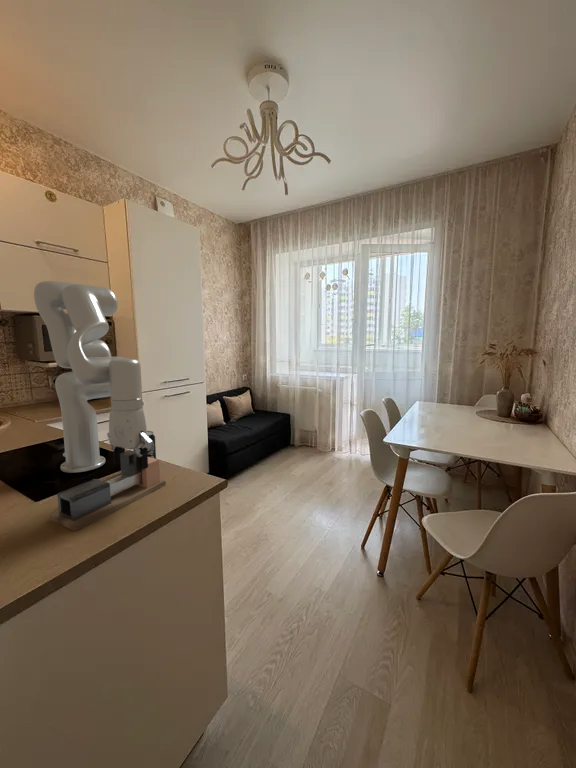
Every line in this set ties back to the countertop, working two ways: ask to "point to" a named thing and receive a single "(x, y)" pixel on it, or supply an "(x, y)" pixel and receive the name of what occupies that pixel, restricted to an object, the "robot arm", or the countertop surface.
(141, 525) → the countertop surface
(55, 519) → the base board
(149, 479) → the socket block
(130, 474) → the slide bolt
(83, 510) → the sleeve
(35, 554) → the countertop surface
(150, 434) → the beverage can
